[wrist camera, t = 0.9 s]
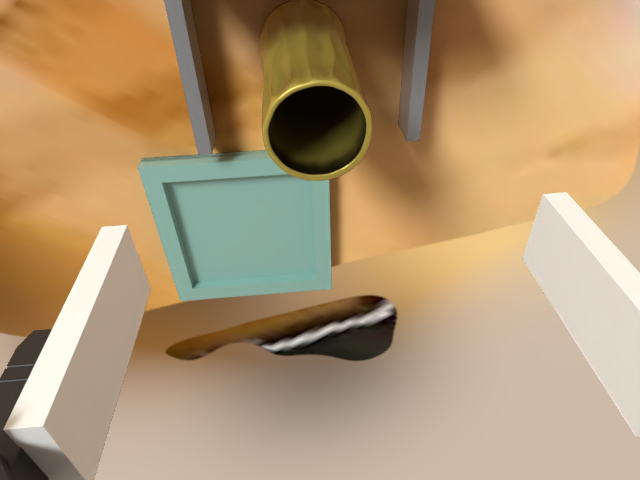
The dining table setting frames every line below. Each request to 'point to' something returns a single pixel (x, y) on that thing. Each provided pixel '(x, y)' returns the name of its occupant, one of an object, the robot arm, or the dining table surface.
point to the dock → (196, 89)
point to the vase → (311, 94)
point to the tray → (239, 225)
